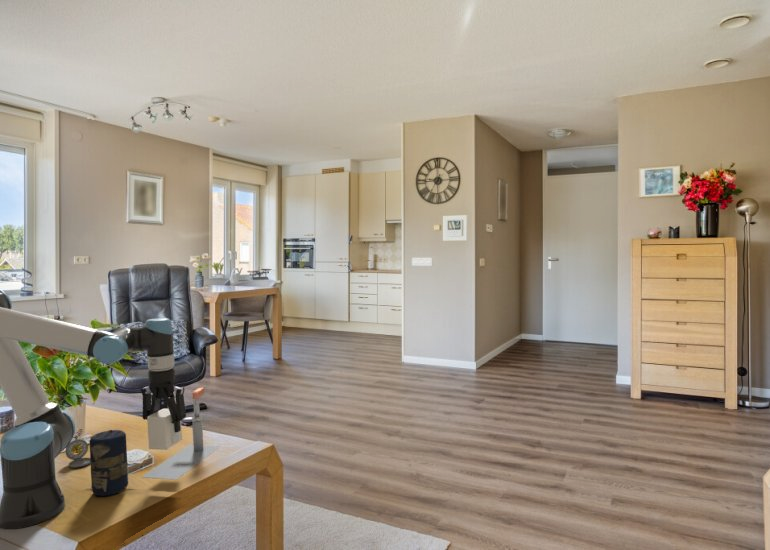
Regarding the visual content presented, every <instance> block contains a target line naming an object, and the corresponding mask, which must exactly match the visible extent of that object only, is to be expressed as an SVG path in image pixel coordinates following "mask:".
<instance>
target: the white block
mask: <svg viewBox="0 0 770 550" xmlns="http://www.w3.org/2000/svg"><path fill="white" fill-rule="evenodd" d="M172 422H173V420H172V417H171V414H170V411H169V409H168V408H162V409H158V412H156V413H154V414H152V415H150V416H148V417H147V436H148V437H147V438H148V449H149V450H163V451H164V450H165V451H168V450H169V449H170V448H173V446H175V445H177V444H178V443H180V442H181V441H183V431H182V422H181V421H180V428H181V430H180V431H179V441H178V442H176V443H175V444H172V438H171V423H172Z"/></svg>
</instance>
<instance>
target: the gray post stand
mask: <svg viewBox="0 0 770 550" xmlns="http://www.w3.org/2000/svg"><path fill="white" fill-rule="evenodd" d="M191 422H192V424H191V425H192V442H193V444H188V445H187V446H185V447H184V448H182V449H181V450H179V451H178V452H176V453H175V454H173V455H171V457H169V458H167V459H166V460H164V461H163V462H161V463H159V465H157V466H155V467H154V468H152V469H151V470H149V471H148V472H146V473H145V474H144V475H141V478H147V479H160V480H161V479H162V480H178V479H180V477H182V476H184V474H186V473H188V471H190V470H191V469H192V468H194V467H196V465H198V464H199V463H201V462H202V461H203V460H204V459H205V458H207V457H209V456H210V455H211V454H212V453H214V452H215V451H217V450H218V449H219V448H221V446H220V445H206V444H205V445H204V434H203V433H204V432H203V429H204V428H203V419H202V420H201V421H199V422H193V421H191Z"/></svg>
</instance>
